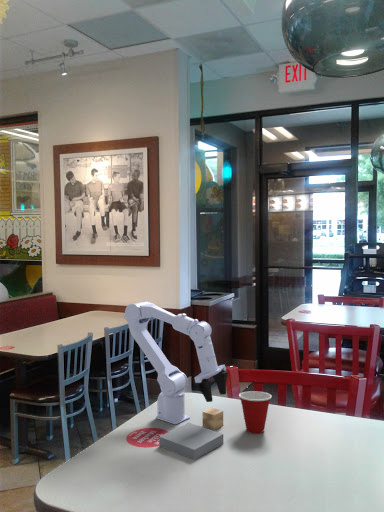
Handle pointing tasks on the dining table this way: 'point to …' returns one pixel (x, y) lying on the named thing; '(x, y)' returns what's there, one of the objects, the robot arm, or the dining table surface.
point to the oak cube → (212, 418)
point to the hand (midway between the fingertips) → (216, 397)
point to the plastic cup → (255, 410)
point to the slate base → (191, 440)
